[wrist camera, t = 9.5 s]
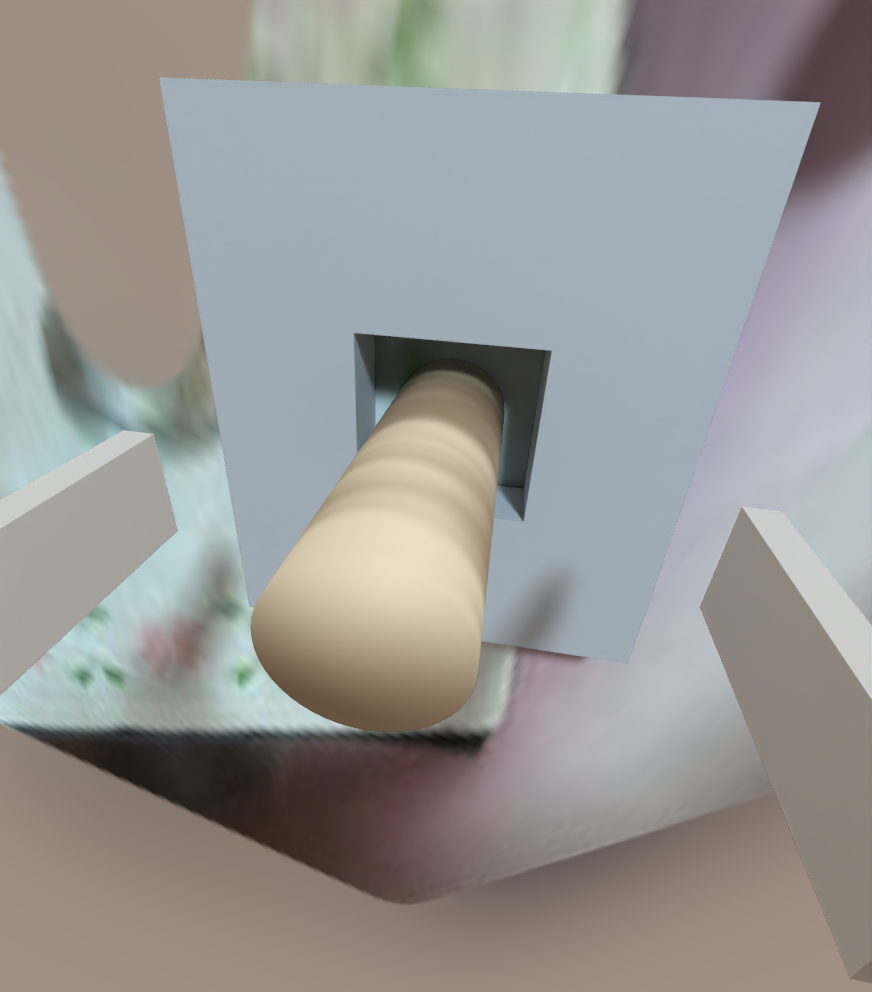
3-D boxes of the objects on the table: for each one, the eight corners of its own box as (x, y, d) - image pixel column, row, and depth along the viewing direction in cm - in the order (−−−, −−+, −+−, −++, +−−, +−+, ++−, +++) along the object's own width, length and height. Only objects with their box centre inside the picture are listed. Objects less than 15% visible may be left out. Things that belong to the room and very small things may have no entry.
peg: (398, 354, 18) (235, 545, 8) (510, 365, 18) (490, 580, 8) (397, 455, 20) (264, 712, 10) (497, 466, 20) (468, 747, 10)
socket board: (210, 95, 15) (159, 77, 13) (774, 118, 14) (820, 102, 11) (273, 571, 24) (249, 606, 22) (618, 620, 23) (628, 663, 20)
